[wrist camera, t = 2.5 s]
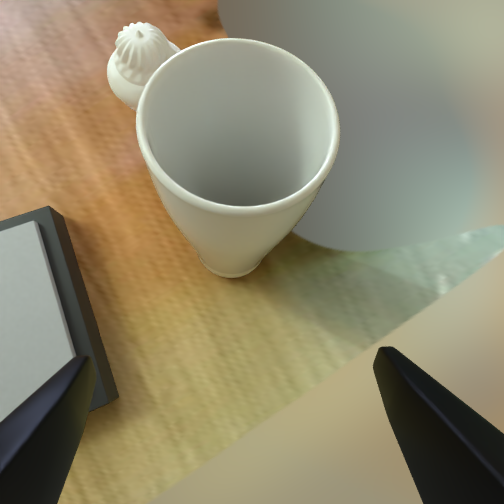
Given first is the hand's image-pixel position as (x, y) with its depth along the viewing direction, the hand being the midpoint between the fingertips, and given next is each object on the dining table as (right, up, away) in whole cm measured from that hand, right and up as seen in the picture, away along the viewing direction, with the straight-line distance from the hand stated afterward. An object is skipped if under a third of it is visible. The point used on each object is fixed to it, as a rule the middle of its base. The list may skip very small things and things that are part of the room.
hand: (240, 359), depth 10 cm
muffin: (-8, +16, +17) cm, 25 cm away
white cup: (-1, +4, +15) cm, 15 cm away
